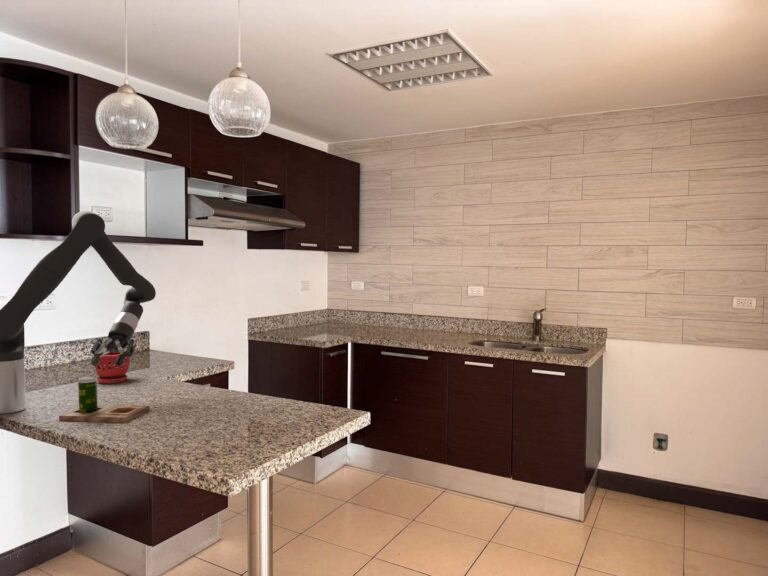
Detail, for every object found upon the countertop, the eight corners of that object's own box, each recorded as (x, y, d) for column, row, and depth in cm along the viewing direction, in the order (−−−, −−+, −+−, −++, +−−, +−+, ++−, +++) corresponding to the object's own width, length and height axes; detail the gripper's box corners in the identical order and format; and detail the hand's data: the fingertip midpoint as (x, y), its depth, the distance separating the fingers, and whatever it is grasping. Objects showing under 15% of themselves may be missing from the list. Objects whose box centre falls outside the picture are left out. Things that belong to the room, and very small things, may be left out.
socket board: (59, 420, 173) (58, 414, 173) (88, 408, 187) (88, 403, 187) (124, 422, 170) (124, 416, 170) (149, 410, 184) (149, 405, 184)
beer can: (90, 411, 183) (89, 375, 182) (101, 413, 180) (100, 377, 180) (75, 415, 178) (74, 379, 177) (86, 417, 176) (85, 380, 175)
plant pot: (129, 383, 226) (128, 354, 225) (93, 386, 221) (92, 356, 221) (131, 377, 238) (130, 349, 237) (97, 379, 233) (96, 351, 233)
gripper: (100, 321, 197) (80, 358, 186) (138, 321, 195) (119, 359, 184) (110, 333, 202) (91, 371, 191) (146, 334, 200) (129, 371, 190)
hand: (105, 365), depth 188 cm, fingers open, 8 cm apart
